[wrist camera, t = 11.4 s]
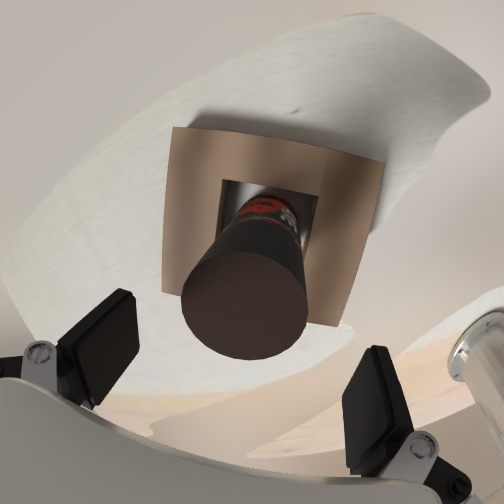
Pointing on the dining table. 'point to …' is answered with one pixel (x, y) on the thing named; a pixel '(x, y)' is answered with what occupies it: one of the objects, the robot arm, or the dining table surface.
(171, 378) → the dining table surface
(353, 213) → the socket board
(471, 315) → the dining table surface
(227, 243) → the deodorant
